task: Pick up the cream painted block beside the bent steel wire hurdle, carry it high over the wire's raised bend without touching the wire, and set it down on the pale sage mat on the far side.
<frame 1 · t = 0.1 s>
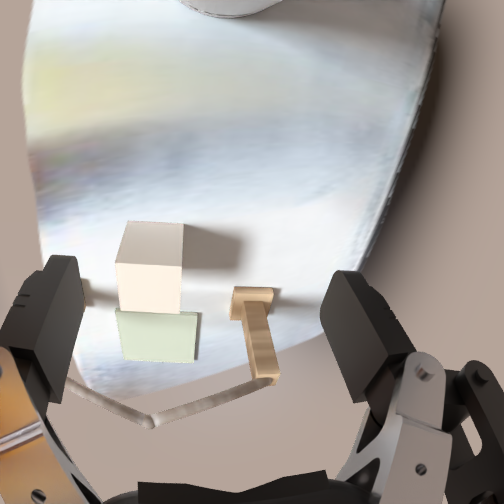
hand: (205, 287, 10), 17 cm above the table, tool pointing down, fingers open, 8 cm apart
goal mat: (157, 336, 36), on the table
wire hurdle: (155, 297, 33), on the table
cream block: (155, 245, 29), on the table
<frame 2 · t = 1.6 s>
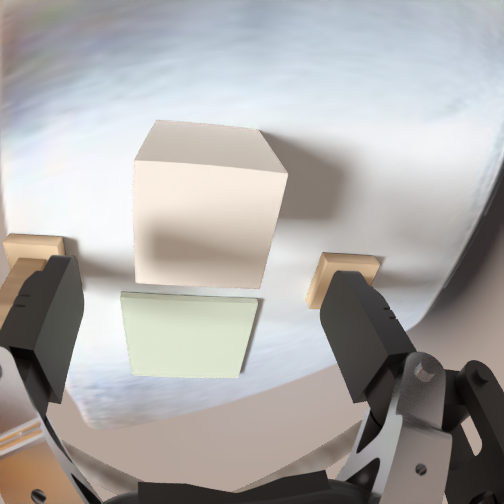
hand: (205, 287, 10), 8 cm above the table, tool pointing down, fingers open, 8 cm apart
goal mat: (186, 339, 23), on the table
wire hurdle: (191, 271, 20), on the table
cream block: (201, 170, 16), on the table
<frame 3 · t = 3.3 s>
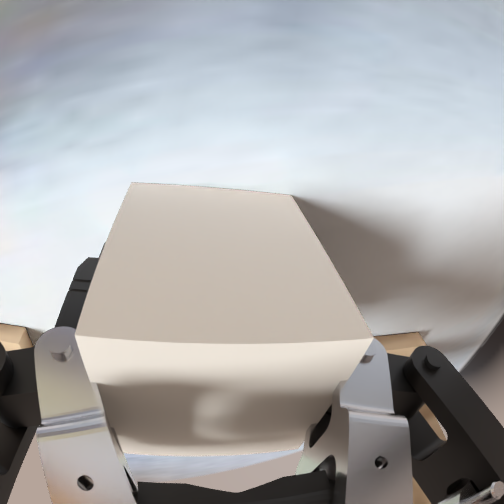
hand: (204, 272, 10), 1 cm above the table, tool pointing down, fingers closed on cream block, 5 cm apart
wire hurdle: (193, 368, 14), on the table
cream block: (204, 255, 11), on the table, touching gripper
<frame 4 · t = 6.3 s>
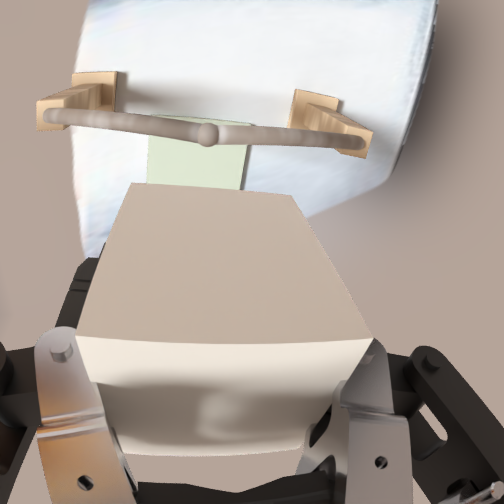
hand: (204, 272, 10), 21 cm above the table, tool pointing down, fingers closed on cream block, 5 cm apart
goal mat: (195, 164, 30), on the table
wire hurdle: (203, 96, 26), on the table
cream block: (204, 255, 11), point 20 cm above the table, touching gripper
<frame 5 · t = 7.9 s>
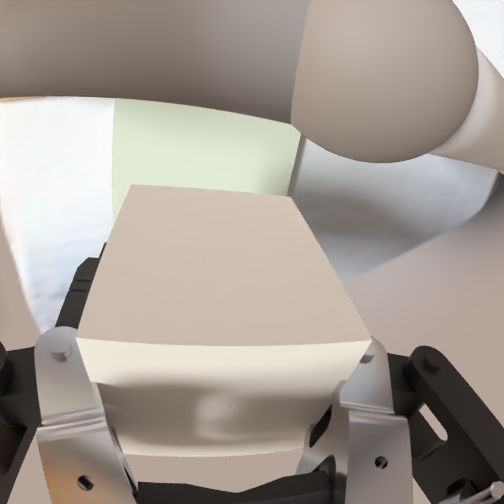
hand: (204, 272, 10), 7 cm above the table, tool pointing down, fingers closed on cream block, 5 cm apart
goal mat: (200, 183, 16), on the table
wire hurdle: (218, 56, 13), on the table
cream block: (204, 257, 11), point 6 cm above the table, touching gripper
when the fingers open (3 cm above the table, at t = 9.2 s): cream block drops 2 cm, resting on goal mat.
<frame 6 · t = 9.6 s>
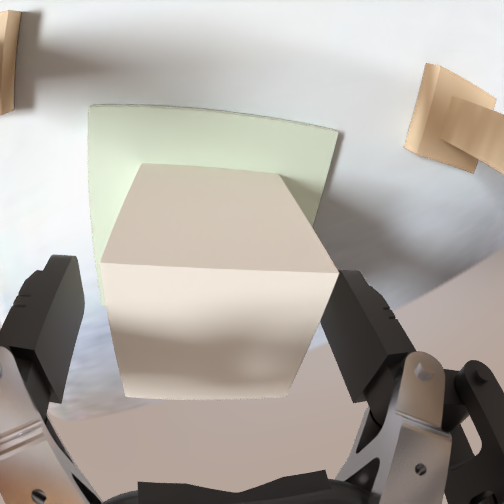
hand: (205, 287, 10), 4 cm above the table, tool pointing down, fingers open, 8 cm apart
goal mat: (201, 221, 13), on the table
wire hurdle: (225, 56, 10), on the table
cream block: (203, 227, 13), resting on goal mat
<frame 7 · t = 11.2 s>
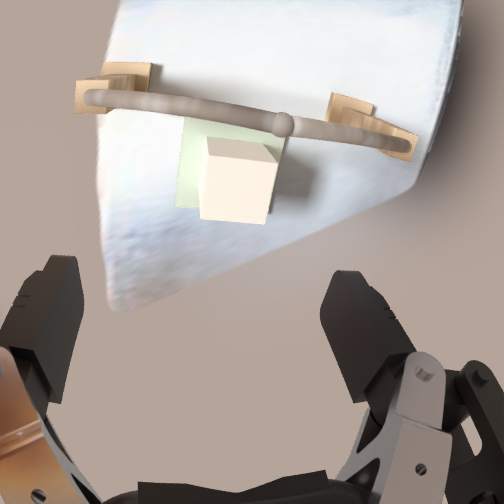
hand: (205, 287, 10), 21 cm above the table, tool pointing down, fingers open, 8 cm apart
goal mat: (228, 164, 29), on the table
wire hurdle: (241, 95, 26), on the table
cream block: (230, 166, 29), resting on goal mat
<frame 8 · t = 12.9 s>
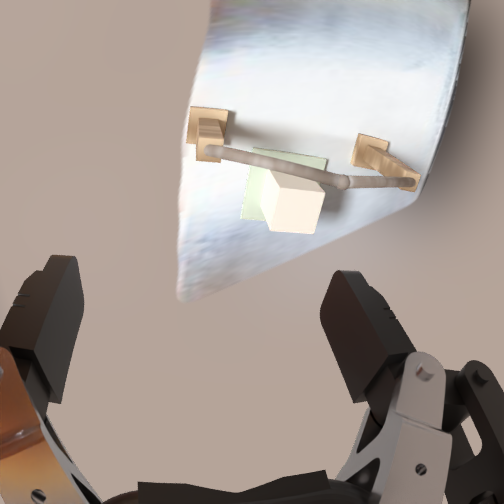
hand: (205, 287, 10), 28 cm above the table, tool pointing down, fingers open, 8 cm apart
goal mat: (282, 187, 39), on the table
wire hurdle: (294, 136, 36), on the table
cream block: (284, 189, 39), resting on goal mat
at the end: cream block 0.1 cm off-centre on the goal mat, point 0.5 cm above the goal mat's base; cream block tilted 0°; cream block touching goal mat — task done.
